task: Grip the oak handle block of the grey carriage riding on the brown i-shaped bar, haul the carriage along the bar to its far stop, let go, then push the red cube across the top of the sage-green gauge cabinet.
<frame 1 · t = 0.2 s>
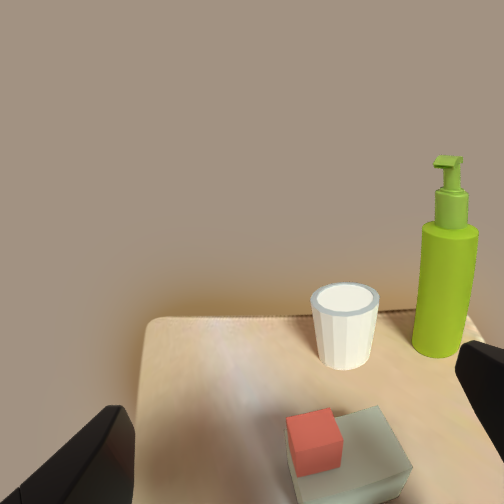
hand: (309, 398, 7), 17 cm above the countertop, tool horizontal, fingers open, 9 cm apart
red cube: (313, 443, 16), point 6 cm above the countertop, slide at 0.0 cm
gauge cabinet: (341, 481, 18), on the countertop
soap dispenser: (434, 345, 31), on the countertop
white cup: (344, 354, 33), on the countertop
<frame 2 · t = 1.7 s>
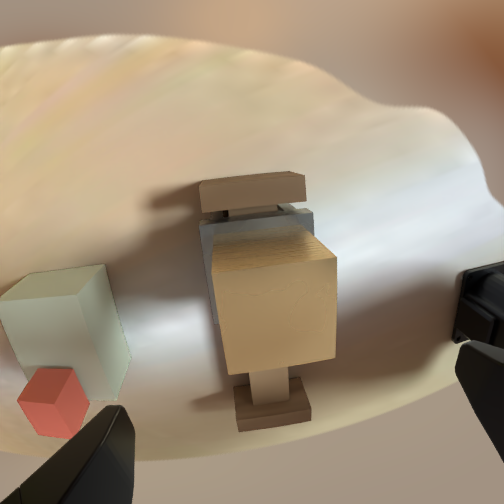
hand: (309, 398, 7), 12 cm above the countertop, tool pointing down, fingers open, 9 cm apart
carriage: (263, 276, 15), point 4 cm above the countertop, slide at 0.0 cm
brown i-shaped bar: (259, 302, 20), on the countertop
red cube: (54, 402, 14), point 6 cm above the countertop, slide at 0.0 cm
gauge cabinet: (78, 317, 19), on the countertop
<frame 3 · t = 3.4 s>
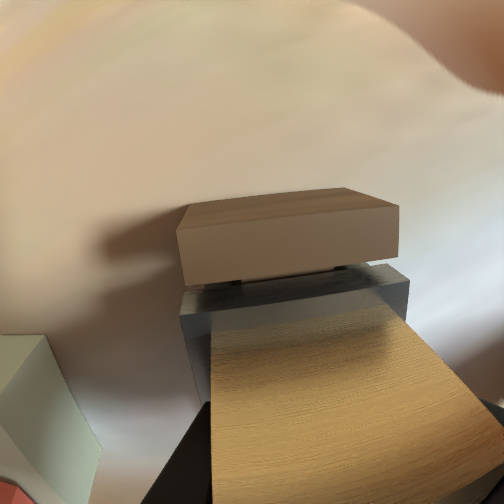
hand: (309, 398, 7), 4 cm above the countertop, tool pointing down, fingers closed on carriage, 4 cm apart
carriage: (312, 407, 7), point 4 cm above the countertop, slide at 0.0 cm, touching gripper
brown i-shaped bar: (284, 392, 12), on the countertop
gauge cabinet: (25, 396, 11), on the countertop
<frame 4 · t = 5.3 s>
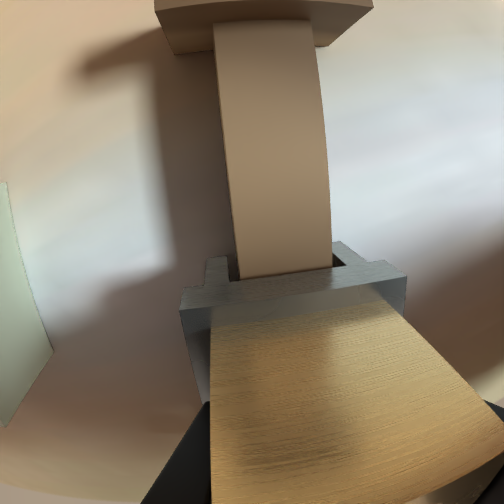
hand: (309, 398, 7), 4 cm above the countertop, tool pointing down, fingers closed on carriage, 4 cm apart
carriage: (311, 402, 7), point 4 cm above the countertop, slide at 5.9 cm, touching gripper
brown i-shaped bar: (273, 249, 10), on the countertop
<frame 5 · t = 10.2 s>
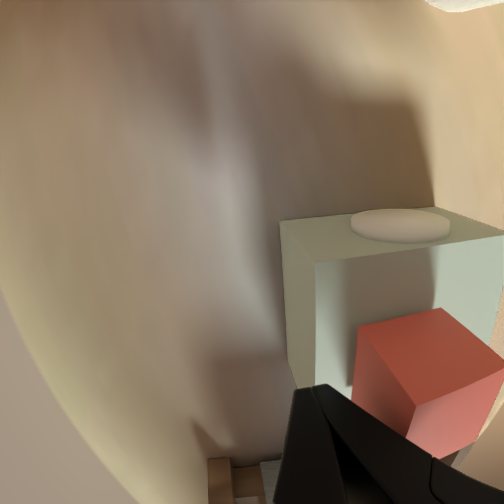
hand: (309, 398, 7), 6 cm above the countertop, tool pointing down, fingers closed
brown i-shaped bar: (340, 460, 16), on the countertop
red cube: (422, 389, 7), point 6 cm above the countertop, slide at 1.0 cm, touching gripper
gauge cabinet: (365, 285, 13), on the countertop
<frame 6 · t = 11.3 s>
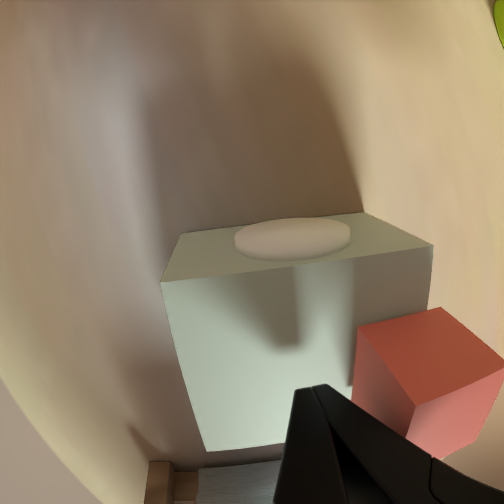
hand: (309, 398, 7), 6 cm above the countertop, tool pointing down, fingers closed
brown i-shaped bar: (286, 471, 16), on the countertop
red cube: (422, 388, 7), point 6 cm above the countertop, slide at 4.5 cm, touching gripper
gauge cabinet: (282, 298, 12), on the countertop
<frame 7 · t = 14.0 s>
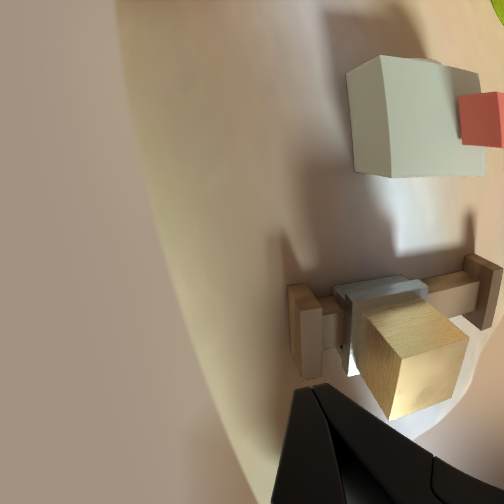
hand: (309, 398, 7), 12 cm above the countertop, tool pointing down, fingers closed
carriage: (394, 339, 17), point 4 cm above the countertop, slide at 5.9 cm
brown i-shaped bar: (394, 300, 21), on the countertop
red cube: (494, 122, 12), point 6 cm above the countertop, slide at 4.5 cm
gauge cabinet: (399, 122, 17), on the countertop
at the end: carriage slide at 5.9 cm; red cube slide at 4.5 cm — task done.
